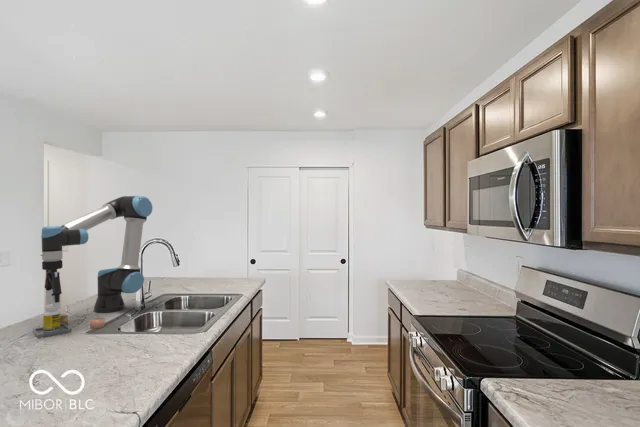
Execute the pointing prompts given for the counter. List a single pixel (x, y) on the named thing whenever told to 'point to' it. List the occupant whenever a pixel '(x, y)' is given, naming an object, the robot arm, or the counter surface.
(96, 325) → the brown egg
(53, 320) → the pill bottle
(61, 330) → the slate tray
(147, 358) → the counter surface
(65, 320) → the cork block
